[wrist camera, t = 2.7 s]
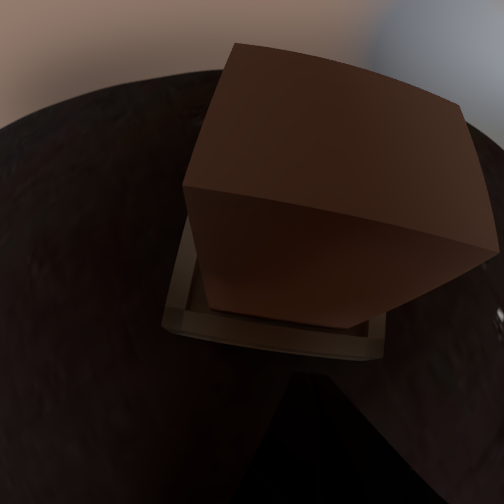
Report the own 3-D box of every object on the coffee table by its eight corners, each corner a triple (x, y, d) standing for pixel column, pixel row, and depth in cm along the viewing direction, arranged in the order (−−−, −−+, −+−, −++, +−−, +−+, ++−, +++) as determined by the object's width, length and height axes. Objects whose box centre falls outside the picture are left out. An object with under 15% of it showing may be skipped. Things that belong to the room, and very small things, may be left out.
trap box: (362, 361, 14) (382, 358, 12) (170, 332, 14) (160, 325, 12) (363, 134, 19) (375, 112, 17) (228, 107, 19) (229, 82, 17)
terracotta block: (342, 330, 13) (499, 252, 4) (210, 310, 13) (181, 185, 4) (348, 244, 14) (458, 105, 6) (227, 223, 14) (234, 42, 6)
